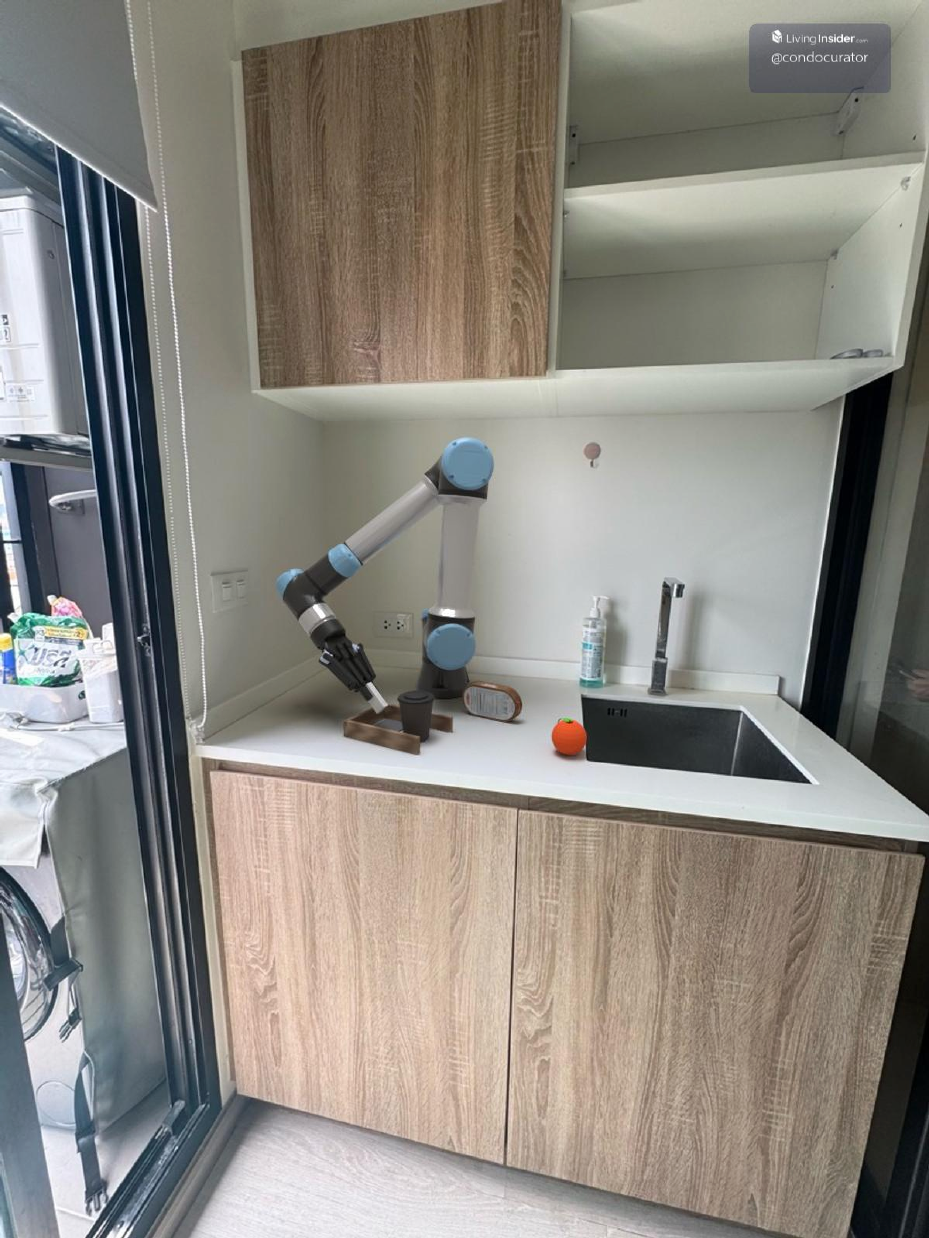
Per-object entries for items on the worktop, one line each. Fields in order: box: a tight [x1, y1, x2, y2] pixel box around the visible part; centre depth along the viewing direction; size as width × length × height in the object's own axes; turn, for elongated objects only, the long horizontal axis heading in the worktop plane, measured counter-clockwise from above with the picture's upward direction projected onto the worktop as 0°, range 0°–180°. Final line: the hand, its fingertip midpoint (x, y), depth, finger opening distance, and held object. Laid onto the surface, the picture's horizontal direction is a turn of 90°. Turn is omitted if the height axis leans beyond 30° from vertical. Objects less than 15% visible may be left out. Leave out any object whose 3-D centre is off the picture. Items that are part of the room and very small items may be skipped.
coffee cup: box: [396, 690, 436, 744], centre depth 112 cm, size 8×8×10 cm
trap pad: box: [372, 718, 403, 732], centre depth 116 cm, size 7×11×1 cm, turn 151°
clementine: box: [551, 717, 588, 756], centre depth 105 cm, size 8×7×7 cm
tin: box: [461, 680, 523, 723], centre depth 124 cm, size 15×3×8 cm, turn 59°
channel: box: [342, 702, 454, 756], centre depth 114 cm, size 19×14×4 cm
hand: (382, 709), depth 116 cm, fingers closed
